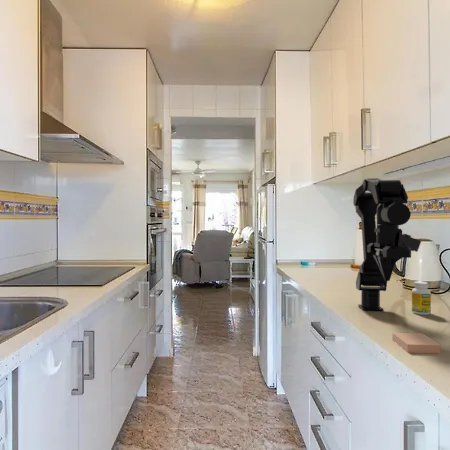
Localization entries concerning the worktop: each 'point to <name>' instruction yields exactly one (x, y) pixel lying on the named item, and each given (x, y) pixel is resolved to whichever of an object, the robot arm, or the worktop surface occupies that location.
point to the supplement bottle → (421, 298)
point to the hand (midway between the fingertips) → (387, 280)
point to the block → (416, 343)
